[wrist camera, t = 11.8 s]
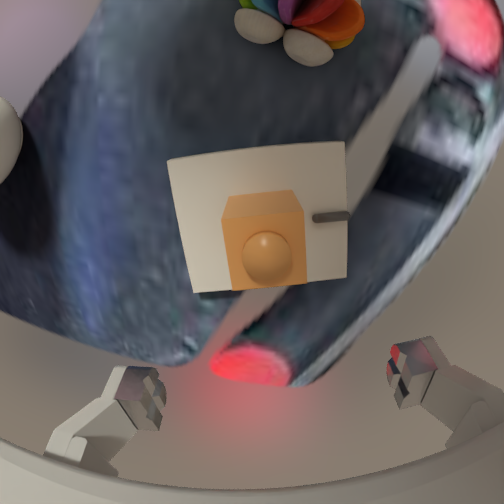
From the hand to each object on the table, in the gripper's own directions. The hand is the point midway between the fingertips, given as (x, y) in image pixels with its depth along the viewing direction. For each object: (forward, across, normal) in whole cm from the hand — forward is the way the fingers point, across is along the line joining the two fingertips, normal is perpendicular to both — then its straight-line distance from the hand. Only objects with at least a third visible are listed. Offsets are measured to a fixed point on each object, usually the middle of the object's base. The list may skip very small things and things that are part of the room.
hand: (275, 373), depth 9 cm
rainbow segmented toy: (+19, -5, -17) cm, 25 cm away
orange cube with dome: (+16, 0, +1) cm, 16 cm away
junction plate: (+18, 0, +1) cm, 18 cm away
